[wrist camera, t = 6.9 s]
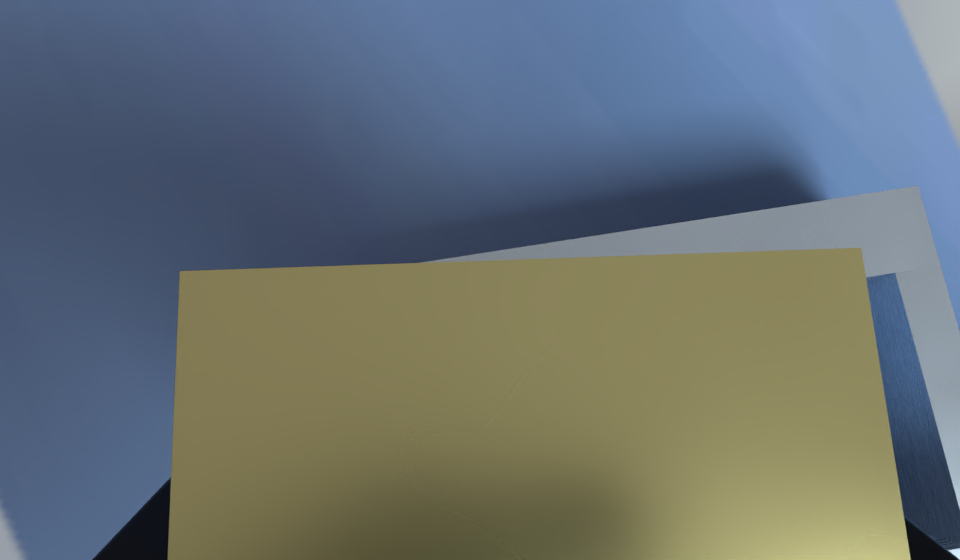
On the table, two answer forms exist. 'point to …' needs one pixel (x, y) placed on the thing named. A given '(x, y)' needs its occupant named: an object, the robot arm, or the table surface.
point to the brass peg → (534, 411)
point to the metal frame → (895, 312)
